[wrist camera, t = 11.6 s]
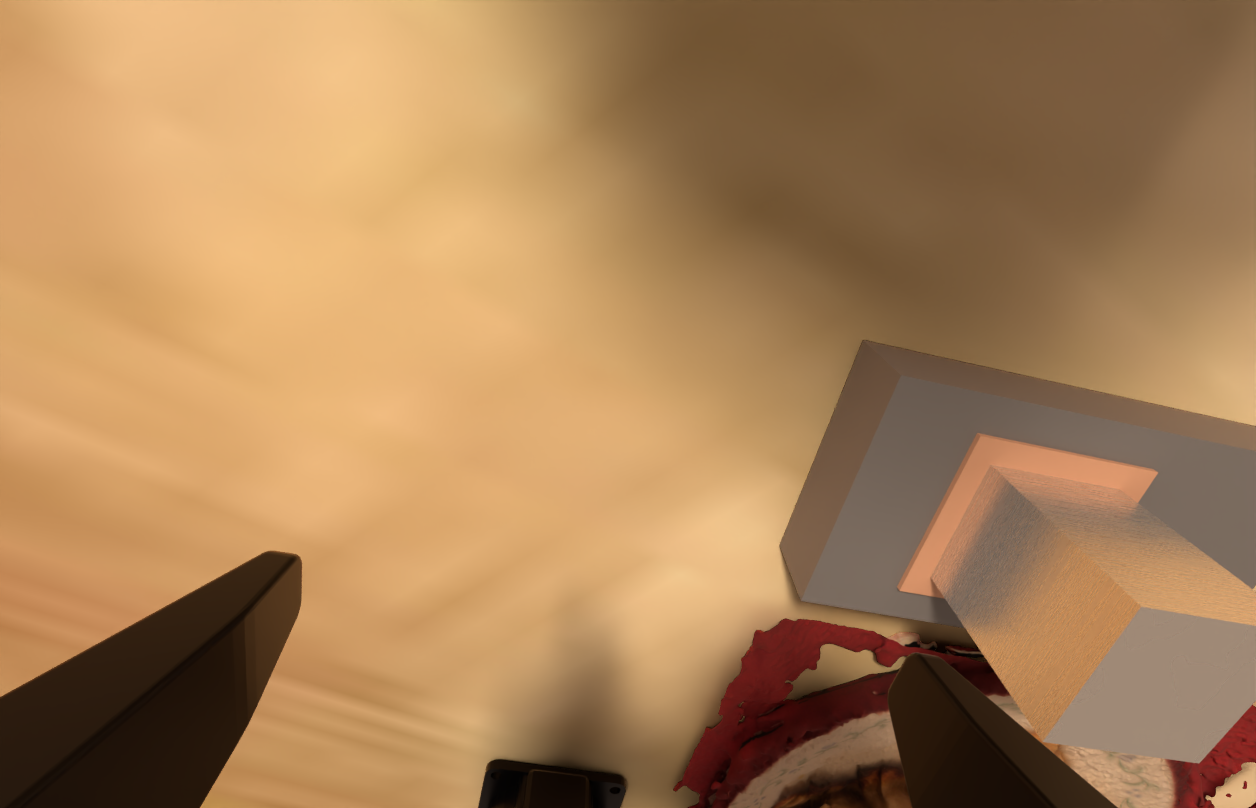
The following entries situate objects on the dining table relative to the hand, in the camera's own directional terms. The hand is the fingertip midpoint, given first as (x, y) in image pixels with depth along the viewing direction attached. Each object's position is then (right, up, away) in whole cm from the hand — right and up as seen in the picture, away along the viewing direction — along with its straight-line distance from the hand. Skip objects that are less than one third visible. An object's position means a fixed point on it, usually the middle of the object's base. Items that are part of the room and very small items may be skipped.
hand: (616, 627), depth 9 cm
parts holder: (+19, -1, +15) cm, 24 cm away
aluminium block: (+13, -1, +11) cm, 17 cm away
